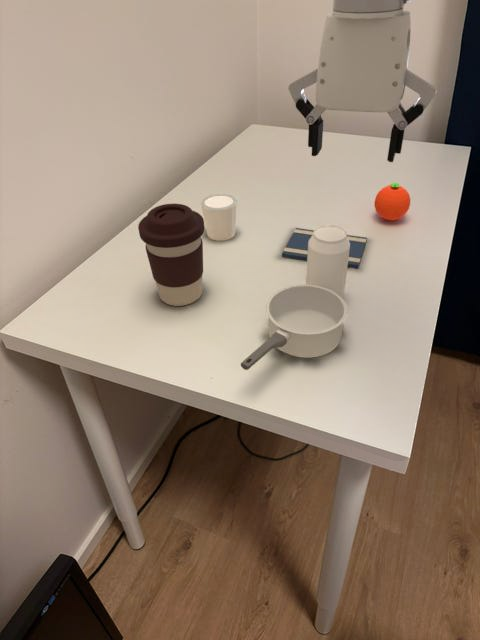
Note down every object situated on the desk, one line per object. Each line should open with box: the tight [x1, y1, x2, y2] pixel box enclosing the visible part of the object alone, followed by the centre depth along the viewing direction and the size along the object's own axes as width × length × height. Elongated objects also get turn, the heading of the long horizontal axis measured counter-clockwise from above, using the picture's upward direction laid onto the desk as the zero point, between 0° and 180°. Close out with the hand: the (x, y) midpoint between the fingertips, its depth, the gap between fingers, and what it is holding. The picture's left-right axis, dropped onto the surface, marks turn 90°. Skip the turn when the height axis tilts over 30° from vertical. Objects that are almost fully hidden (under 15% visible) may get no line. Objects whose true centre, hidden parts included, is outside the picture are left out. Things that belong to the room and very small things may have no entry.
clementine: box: [374, 182, 411, 221], centre depth 97 cm, size 8×7×7 cm
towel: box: [281, 227, 368, 270], centre depth 91 cm, size 14×10×1 cm
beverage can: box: [305, 224, 350, 299], centre depth 76 cm, size 6×6×12 cm
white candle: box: [200, 193, 238, 242], centre depth 95 cm, size 7×7×7 cm
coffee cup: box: [137, 203, 206, 307], centre depth 77 cm, size 10×10×15 cm
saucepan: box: [240, 283, 348, 371], centre depth 68 cm, size 12×20×6 cm, turn 141°
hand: (353, 155), depth 63 cm, fingers open, 9 cm apart
